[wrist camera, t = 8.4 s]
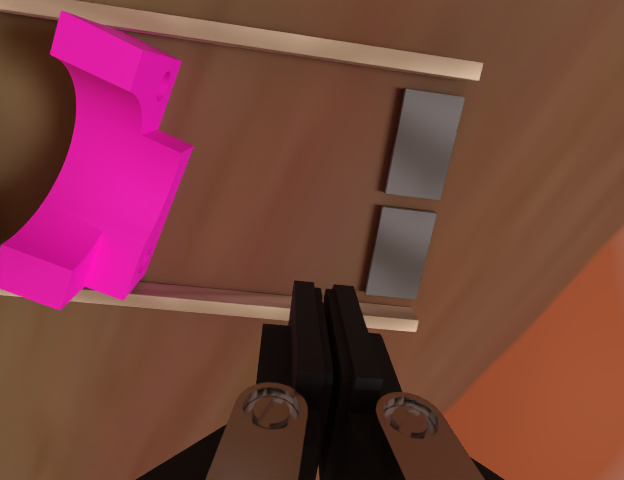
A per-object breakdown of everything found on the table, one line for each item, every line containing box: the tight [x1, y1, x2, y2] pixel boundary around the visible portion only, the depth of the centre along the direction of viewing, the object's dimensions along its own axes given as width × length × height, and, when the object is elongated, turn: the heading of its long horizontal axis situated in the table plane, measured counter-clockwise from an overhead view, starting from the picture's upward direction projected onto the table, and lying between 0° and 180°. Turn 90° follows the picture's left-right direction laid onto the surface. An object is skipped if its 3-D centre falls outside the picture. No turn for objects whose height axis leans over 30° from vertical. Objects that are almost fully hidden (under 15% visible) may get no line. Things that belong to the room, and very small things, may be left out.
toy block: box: [0, 10, 194, 310], centre depth 25 cm, size 15×6×8 cm, turn 154°
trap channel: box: [0, 0, 483, 332], centre depth 27 cm, size 19×32×4 cm, turn 82°
